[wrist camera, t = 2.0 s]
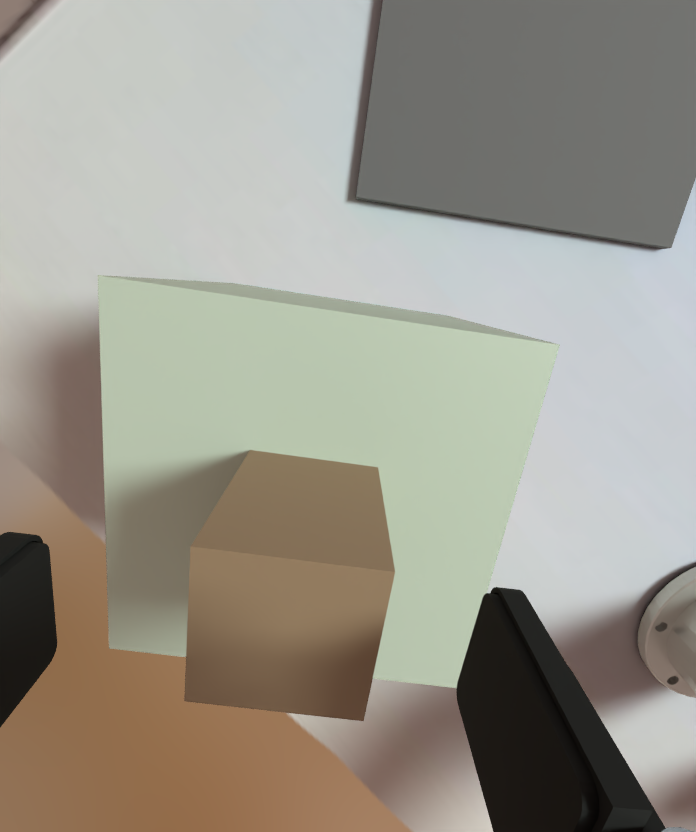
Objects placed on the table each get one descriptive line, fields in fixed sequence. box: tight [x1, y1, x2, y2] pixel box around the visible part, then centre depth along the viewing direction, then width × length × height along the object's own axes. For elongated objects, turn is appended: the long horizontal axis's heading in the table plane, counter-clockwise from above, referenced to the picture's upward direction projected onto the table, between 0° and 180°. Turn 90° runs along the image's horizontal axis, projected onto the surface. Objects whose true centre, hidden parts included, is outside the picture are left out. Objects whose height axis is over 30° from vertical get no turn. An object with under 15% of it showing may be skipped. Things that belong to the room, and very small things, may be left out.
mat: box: [356, 0, 696, 249], centre depth 21 cm, size 18×18×1 cm
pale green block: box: [98, 275, 560, 721], centre depth 18 cm, size 13×13×19 cm
